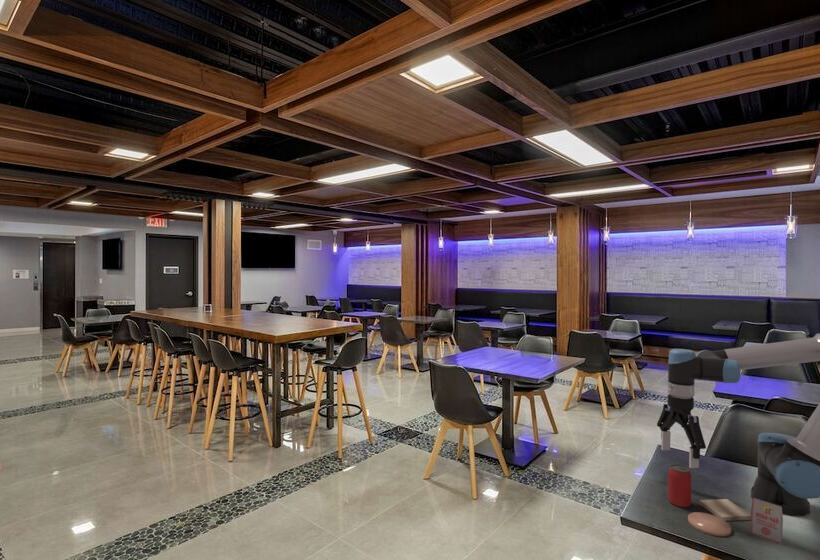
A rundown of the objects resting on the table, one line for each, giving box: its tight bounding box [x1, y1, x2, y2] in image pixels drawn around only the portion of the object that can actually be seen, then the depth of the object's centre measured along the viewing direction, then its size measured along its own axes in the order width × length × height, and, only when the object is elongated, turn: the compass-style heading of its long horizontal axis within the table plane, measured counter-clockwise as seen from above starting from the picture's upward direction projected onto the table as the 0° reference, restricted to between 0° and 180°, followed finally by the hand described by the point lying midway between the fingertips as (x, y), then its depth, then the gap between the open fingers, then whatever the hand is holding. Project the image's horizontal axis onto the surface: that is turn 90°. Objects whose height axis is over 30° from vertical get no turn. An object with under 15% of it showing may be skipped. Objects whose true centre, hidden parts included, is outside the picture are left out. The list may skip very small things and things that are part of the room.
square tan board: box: [698, 498, 751, 522], centre depth 140 cm, size 10×10×1 cm
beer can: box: [667, 463, 692, 508], centre depth 145 cm, size 7×7×12 cm
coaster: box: [687, 511, 733, 537], centre depth 132 cm, size 11×11×1 cm
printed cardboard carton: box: [750, 498, 784, 544], centre depth 127 cm, size 4×7×10 cm, turn 40°
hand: (679, 458), depth 145 cm, fingers open, 13 cm apart
